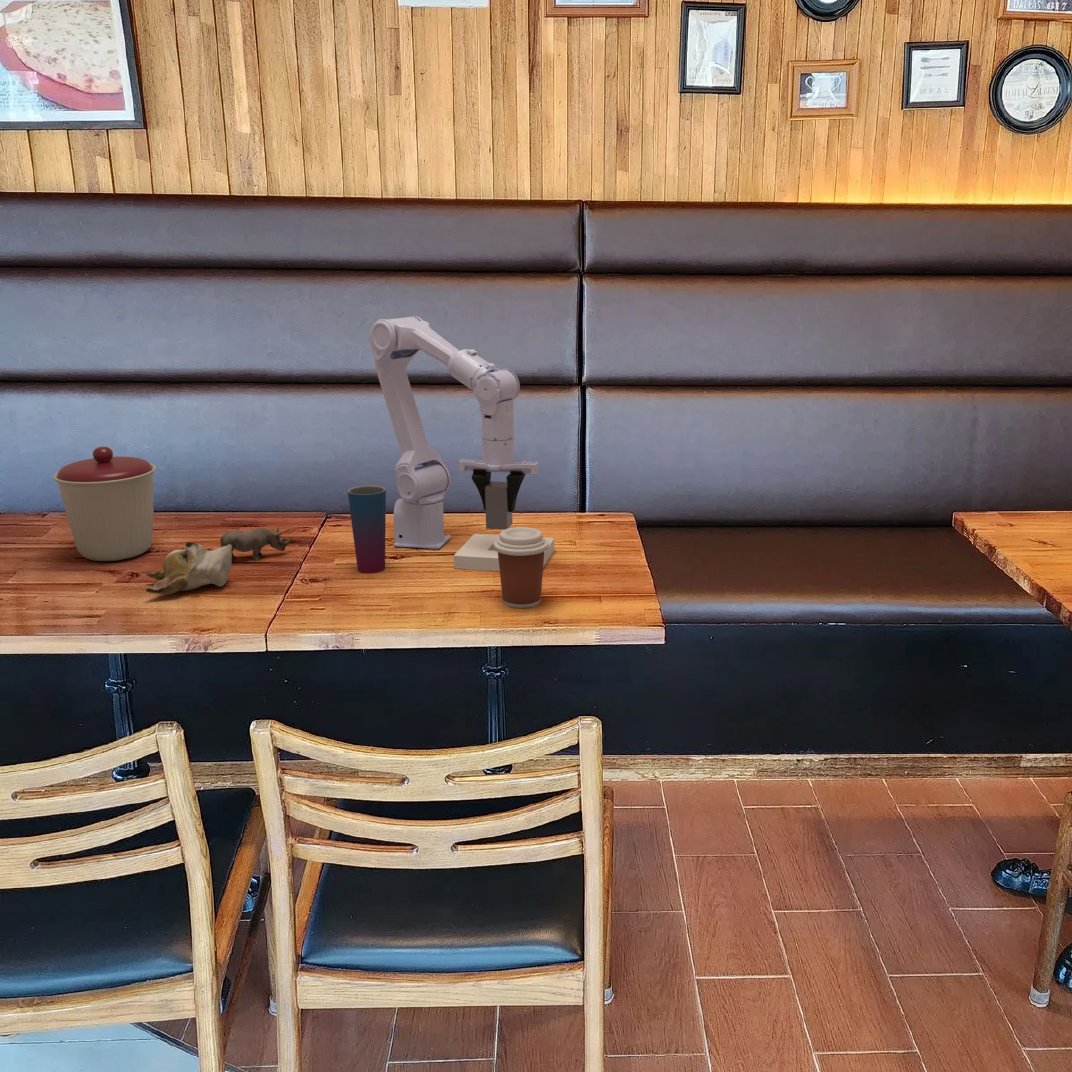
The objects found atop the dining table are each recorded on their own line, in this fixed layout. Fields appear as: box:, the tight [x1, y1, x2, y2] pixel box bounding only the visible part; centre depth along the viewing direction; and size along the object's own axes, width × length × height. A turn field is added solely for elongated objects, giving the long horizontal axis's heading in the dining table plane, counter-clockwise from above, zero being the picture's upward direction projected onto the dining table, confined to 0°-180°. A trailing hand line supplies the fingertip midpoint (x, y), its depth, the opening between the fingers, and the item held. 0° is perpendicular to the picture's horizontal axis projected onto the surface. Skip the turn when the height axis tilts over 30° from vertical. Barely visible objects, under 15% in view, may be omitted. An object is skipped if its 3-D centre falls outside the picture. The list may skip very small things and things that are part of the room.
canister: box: [52, 446, 157, 562], centre depth 192 cm, size 18×18×21 cm
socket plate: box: [453, 533, 555, 572], centre depth 190 cm, size 16×14×2 cm
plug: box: [485, 480, 513, 531], centre depth 186 cm, size 4×4×8 cm
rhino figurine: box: [219, 527, 293, 562], centre depth 191 cm, size 4×14×6 cm, turn 113°
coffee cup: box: [493, 526, 549, 609], centre depth 167 cm, size 9×9×12 cm
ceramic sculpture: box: [145, 541, 233, 595], centre depth 175 cm, size 11×9×15 cm
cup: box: [347, 484, 387, 574], centre depth 183 cm, size 7×7×15 cm
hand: (499, 510), depth 186 cm, fingers closed on plug, 4 cm apart
